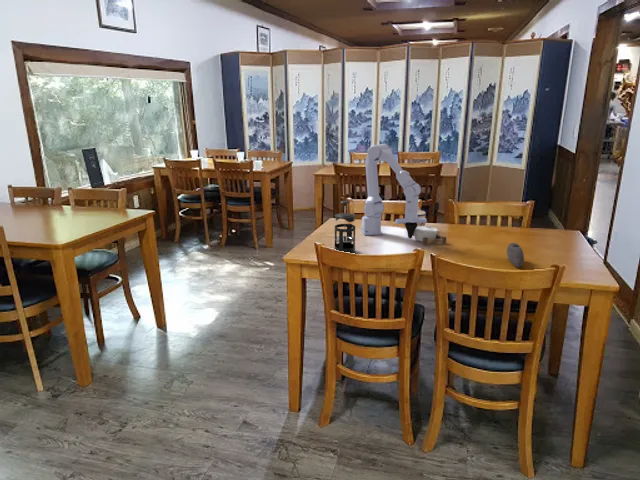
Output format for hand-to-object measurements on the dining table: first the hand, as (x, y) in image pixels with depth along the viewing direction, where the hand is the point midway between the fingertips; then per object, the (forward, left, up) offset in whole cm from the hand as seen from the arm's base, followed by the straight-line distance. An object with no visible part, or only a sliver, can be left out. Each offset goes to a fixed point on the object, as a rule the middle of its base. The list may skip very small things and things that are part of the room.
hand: (410, 237), depth 210 cm
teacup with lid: (+10, +19, -1) cm, 22 cm away
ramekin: (+7, 0, -1) cm, 8 cm away
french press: (-34, -13, -1) cm, 36 cm away
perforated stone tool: (+31, -38, -2) cm, 49 cm away
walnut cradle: (+9, 0, -1) cm, 9 cm away
